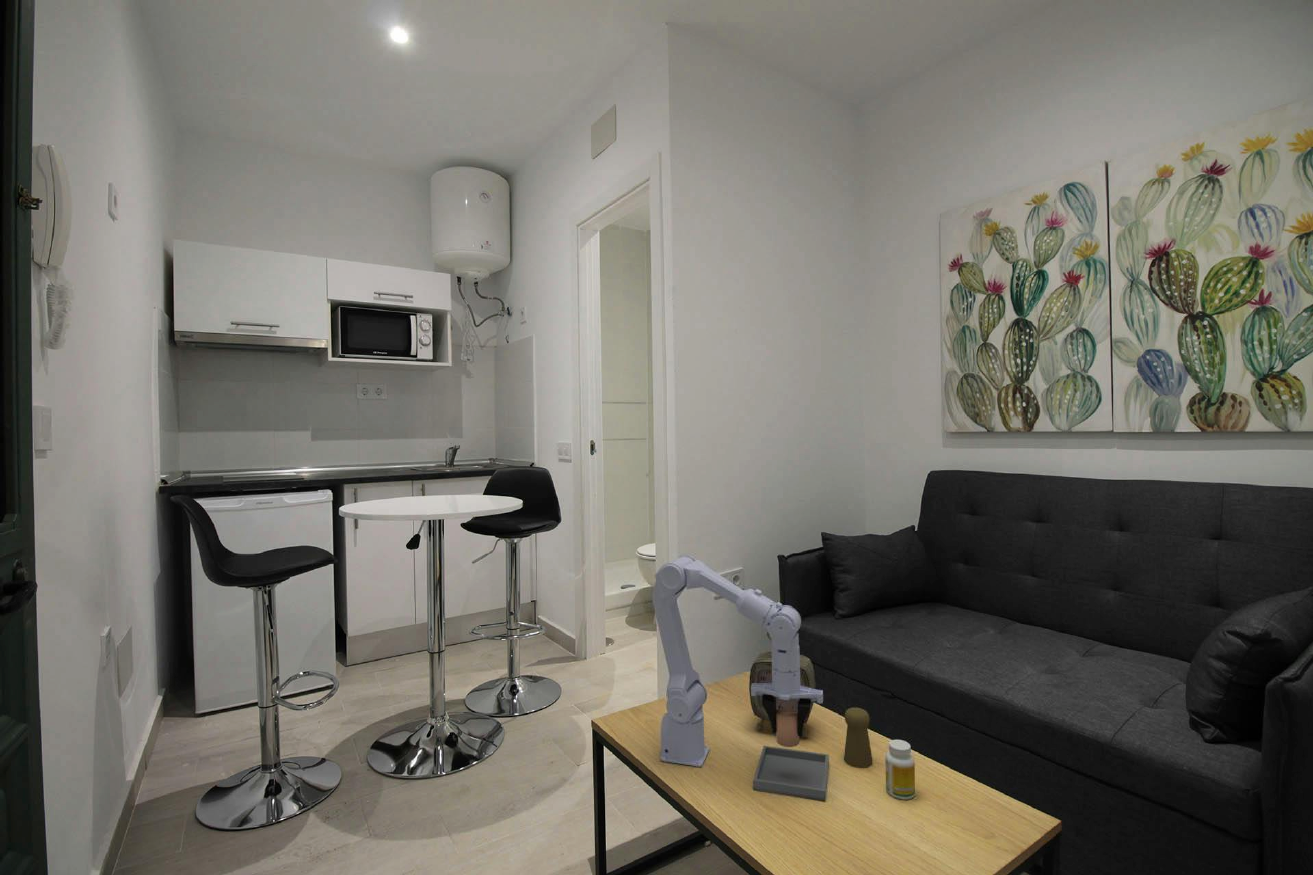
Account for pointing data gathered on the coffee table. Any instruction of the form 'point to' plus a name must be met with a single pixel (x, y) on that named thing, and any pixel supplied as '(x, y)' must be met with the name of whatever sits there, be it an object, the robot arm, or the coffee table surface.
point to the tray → (792, 773)
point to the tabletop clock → (763, 674)
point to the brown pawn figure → (857, 739)
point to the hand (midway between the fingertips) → (787, 732)
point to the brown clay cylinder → (787, 727)
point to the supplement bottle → (900, 770)
